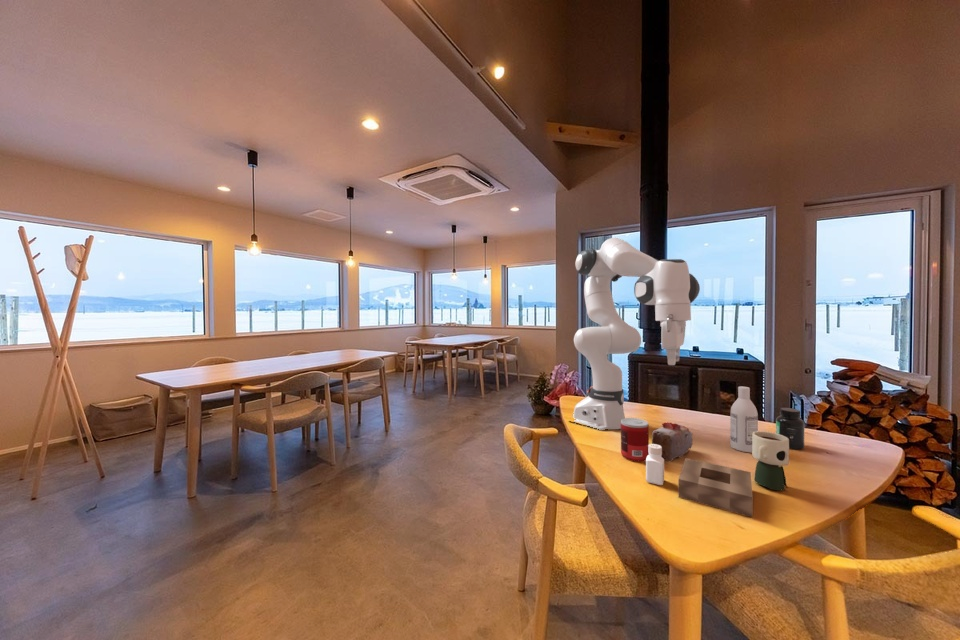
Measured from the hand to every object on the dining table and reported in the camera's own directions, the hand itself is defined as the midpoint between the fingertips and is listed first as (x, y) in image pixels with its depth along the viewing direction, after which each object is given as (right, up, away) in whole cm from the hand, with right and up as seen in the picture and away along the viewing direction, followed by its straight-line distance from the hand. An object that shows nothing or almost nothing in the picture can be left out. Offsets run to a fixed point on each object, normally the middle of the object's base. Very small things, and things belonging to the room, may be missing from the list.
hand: (673, 363), depth 97 cm
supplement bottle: (+46, -29, +14) cm, 56 cm away
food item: (+5, -30, +10) cm, 32 cm away
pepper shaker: (-9, -31, -7) cm, 33 cm away
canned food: (-7, -30, +8) cm, 32 cm away
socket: (+3, -31, -13) cm, 33 cm away
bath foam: (+30, -30, +13) cm, 44 cm away
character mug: (+19, -30, -10) cm, 37 cm away
